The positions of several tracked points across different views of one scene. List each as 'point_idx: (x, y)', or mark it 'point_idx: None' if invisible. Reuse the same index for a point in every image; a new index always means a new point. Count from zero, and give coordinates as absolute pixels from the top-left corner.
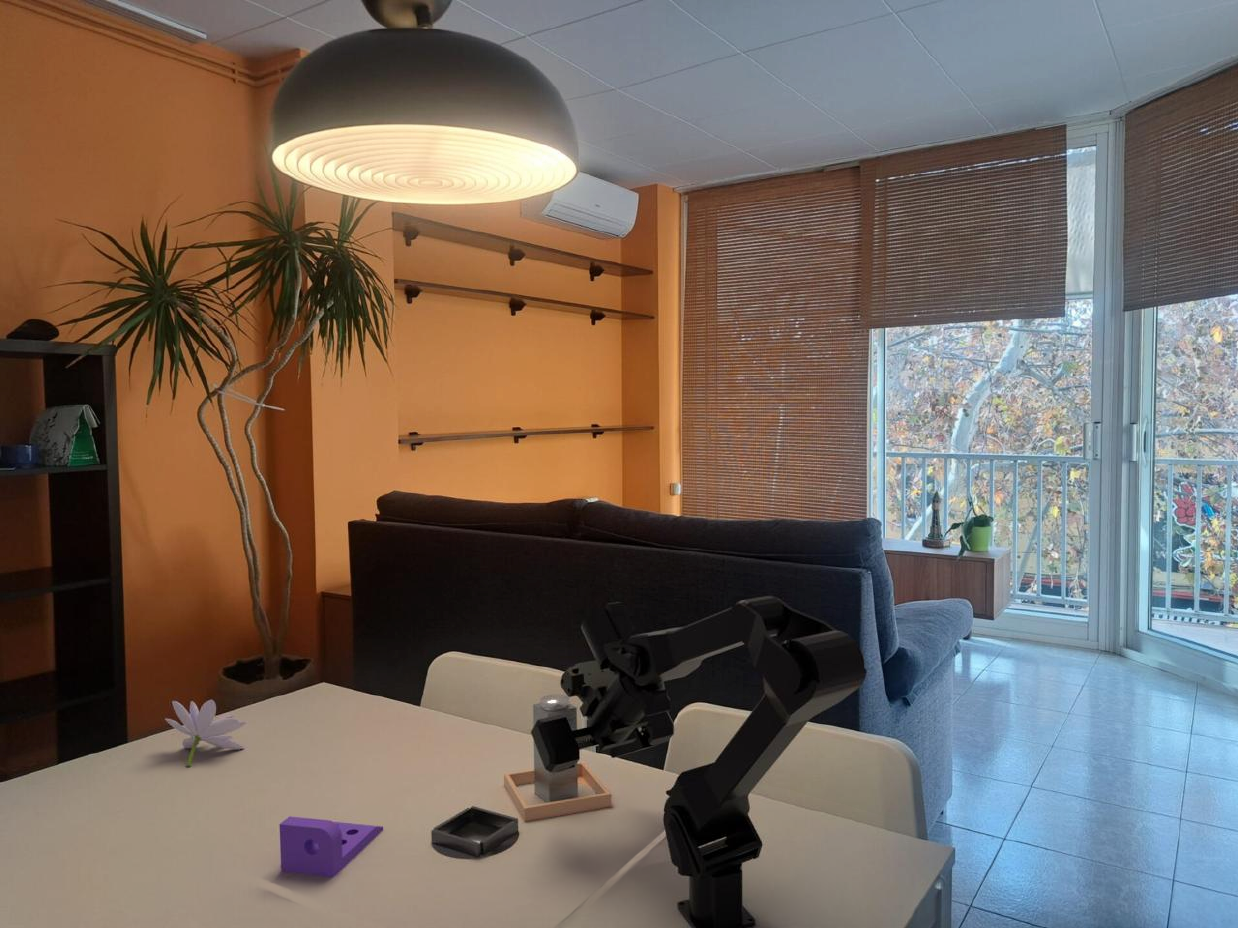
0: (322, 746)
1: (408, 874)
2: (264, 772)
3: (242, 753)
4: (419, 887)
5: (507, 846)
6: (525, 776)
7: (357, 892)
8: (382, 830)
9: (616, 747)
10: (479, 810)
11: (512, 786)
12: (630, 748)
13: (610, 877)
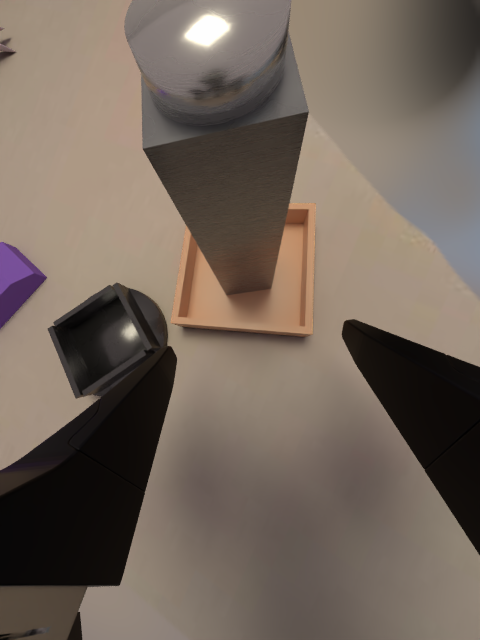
0: (73, 61)
1: (33, 375)
2: (11, 104)
3: (11, 60)
4: (31, 410)
5: None
6: None
7: None
8: (37, 276)
9: (369, 357)
10: (120, 297)
11: (184, 247)
12: (417, 445)
13: (225, 520)
